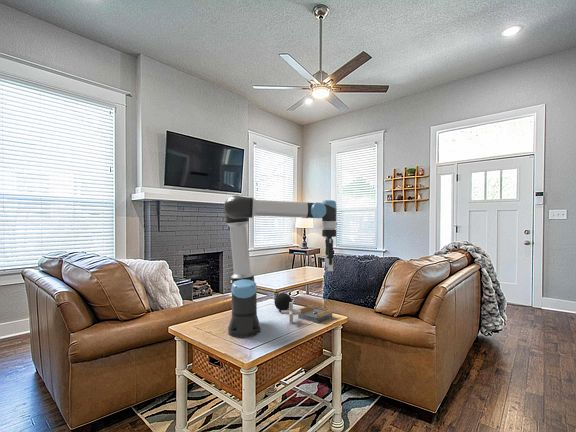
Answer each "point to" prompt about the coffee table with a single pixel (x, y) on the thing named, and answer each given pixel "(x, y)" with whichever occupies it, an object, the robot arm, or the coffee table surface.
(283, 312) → the pipe connector
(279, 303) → the speaker
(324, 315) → the block
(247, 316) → the robot arm
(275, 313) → the coffee table surface
